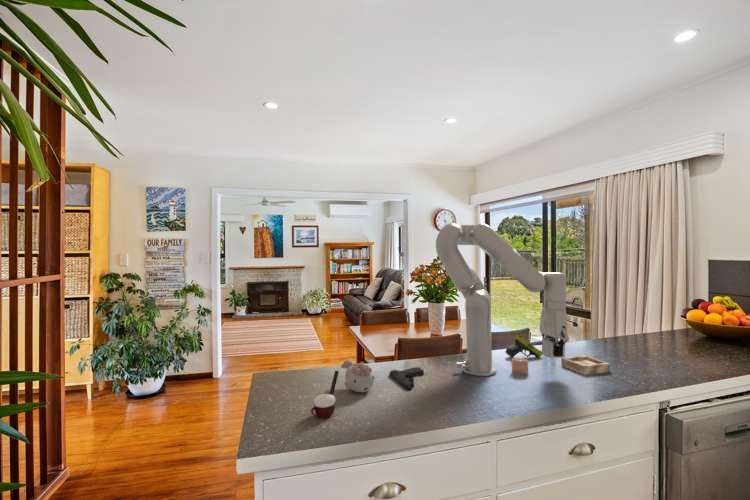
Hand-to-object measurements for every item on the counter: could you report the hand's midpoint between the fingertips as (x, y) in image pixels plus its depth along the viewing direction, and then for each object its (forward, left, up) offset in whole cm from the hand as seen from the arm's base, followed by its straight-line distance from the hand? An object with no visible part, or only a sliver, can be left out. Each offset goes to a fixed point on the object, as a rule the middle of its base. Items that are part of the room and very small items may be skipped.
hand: (553, 353), depth 145 cm
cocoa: (-86, -11, -9) cm, 87 cm away
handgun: (-52, +11, -9) cm, 54 cm away
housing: (0, 0, -1) cm, 1 cm away
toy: (-73, +8, -9) cm, 74 cm away
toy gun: (+5, +25, -9) cm, 27 cm away
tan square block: (-9, +7, -9) cm, 15 cm away
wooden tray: (+18, +4, -9) cm, 20 cm away
